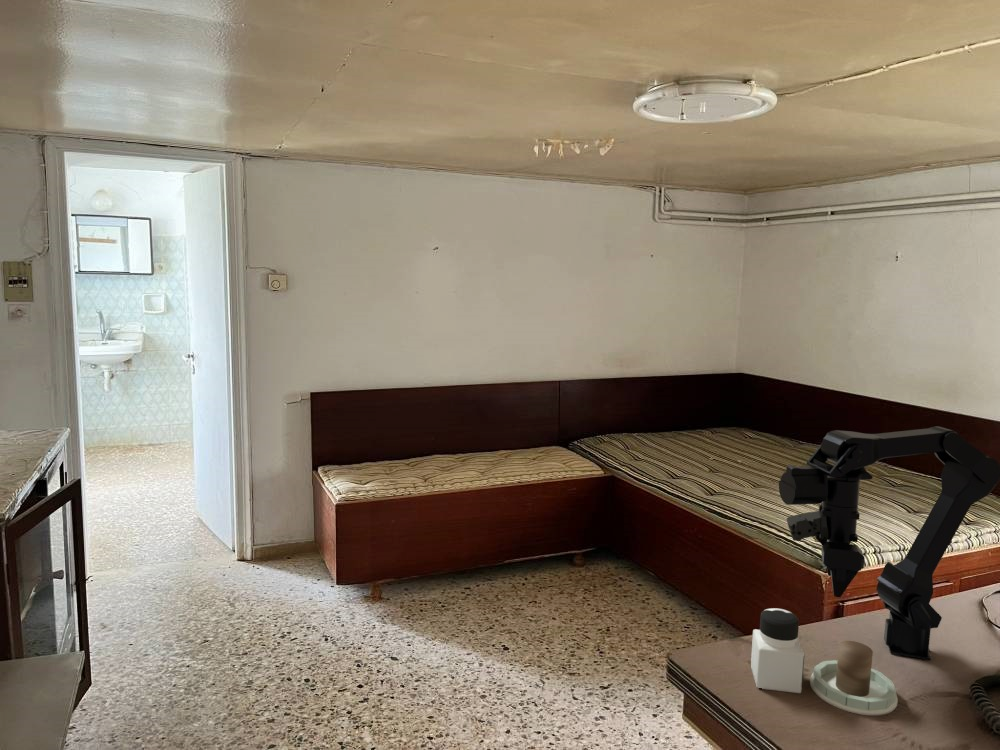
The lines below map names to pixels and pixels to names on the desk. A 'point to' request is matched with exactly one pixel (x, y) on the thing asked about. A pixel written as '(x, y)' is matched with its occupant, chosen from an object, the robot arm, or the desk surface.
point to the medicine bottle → (777, 652)
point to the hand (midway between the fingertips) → (833, 585)
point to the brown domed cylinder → (854, 668)
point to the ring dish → (873, 704)
